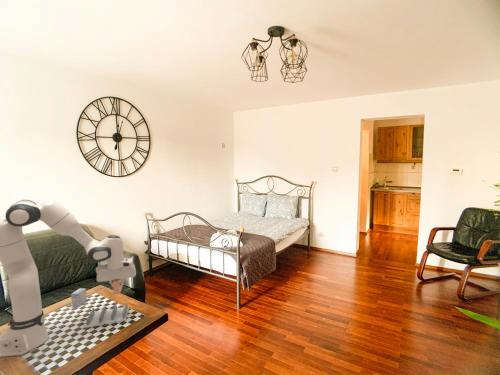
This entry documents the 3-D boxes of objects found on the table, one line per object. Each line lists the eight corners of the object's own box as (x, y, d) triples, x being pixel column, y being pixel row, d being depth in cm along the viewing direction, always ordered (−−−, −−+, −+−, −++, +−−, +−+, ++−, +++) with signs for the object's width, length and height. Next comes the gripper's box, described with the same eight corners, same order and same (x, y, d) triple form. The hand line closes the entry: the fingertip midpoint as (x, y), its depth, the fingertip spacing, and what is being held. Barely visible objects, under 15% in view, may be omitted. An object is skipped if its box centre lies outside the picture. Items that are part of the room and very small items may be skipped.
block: (113, 294, 150) (112, 282, 150) (116, 287, 158) (115, 276, 157) (119, 293, 151) (118, 281, 151) (122, 287, 159) (121, 275, 158)
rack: (85, 328, 145) (84, 321, 144) (92, 314, 158) (91, 307, 158) (125, 320, 151) (125, 313, 150) (129, 307, 164) (128, 301, 164)
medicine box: (80, 300, 174) (79, 288, 173) (87, 300, 174) (85, 288, 173) (71, 307, 166) (70, 294, 165) (78, 307, 166) (77, 294, 165)
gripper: (94, 267, 147) (96, 291, 148) (134, 262, 153) (135, 285, 154) (96, 263, 153) (99, 286, 154) (135, 258, 159) (137, 281, 160)
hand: (117, 286), depth 154 cm, fingers closed on block, 3 cm apart
